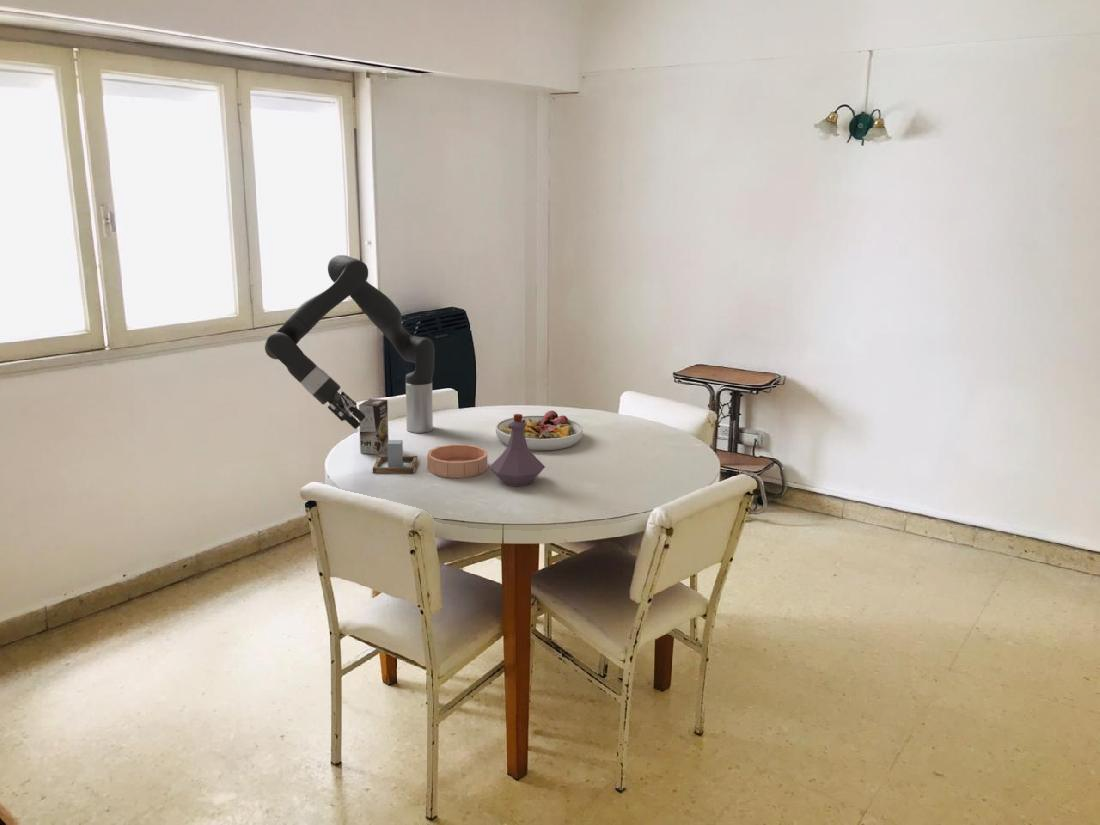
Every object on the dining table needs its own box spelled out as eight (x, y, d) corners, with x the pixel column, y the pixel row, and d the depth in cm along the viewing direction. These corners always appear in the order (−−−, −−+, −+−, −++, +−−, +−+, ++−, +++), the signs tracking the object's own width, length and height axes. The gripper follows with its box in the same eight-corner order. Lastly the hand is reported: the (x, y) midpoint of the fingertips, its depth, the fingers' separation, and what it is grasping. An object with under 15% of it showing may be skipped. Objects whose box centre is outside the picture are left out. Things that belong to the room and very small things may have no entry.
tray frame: (378, 460, 250) (378, 455, 250) (417, 460, 251) (417, 456, 251) (372, 473, 239) (372, 468, 238) (413, 473, 239) (413, 468, 239)
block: (390, 464, 247) (389, 439, 245) (403, 464, 247) (402, 439, 245) (388, 468, 243) (387, 443, 241) (401, 468, 243) (400, 443, 241)
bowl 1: (431, 458, 253) (430, 444, 252) (488, 459, 254) (488, 444, 253) (425, 477, 236) (425, 462, 235) (486, 478, 237) (486, 462, 236)
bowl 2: (567, 458, 258) (567, 434, 256) (481, 447, 267) (481, 424, 265) (592, 434, 286) (593, 412, 284) (514, 425, 295) (514, 404, 293)
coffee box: (378, 454, 256) (376, 405, 252) (359, 453, 257) (357, 404, 253) (389, 446, 264) (388, 399, 260) (371, 445, 266) (369, 397, 262)
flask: (477, 481, 234) (477, 415, 229) (515, 468, 247) (516, 405, 241) (518, 494, 224) (519, 426, 219) (556, 480, 236) (558, 415, 231)
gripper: (323, 381, 230) (365, 420, 233) (334, 371, 244) (373, 408, 247) (306, 399, 231) (347, 438, 234) (317, 388, 245) (356, 424, 248)
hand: (360, 422), depth 241 cm, fingers open, 8 cm apart
